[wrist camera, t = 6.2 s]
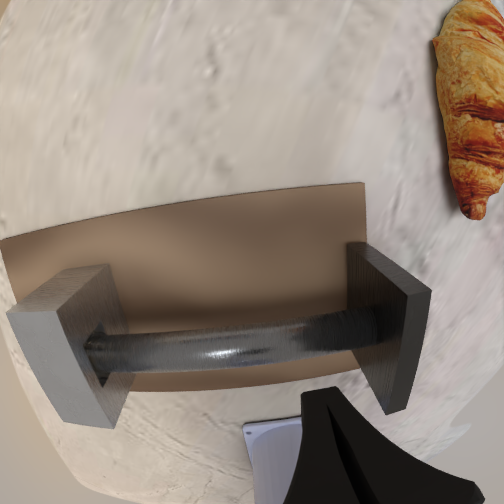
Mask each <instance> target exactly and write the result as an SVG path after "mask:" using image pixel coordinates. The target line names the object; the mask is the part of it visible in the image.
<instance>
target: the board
mask: <svg viewBox="0 0 504 504" xmlns="http://www.w3.org/2000/svg"><path fill="white" fill-rule="evenodd" d="M358 242H366V243H367V235H366V202H365V183H362V182H358V183H344V184H331V185H319V186H308V187H297V188H287V189H278V190H268V191H260V192H251V193H243V194H235V195H228V196H220V197H213V198H206V199H199V200H192V201H186V202H179V203H173V204H167V205H161V206H155V207H149V208H143V209H138V210H132V211H127V212H121V213H116V214H111V215H106V216H101V217H96V218H91V219H86V220H82V221H77V222H72V223H68V224H63V225H59V226H55V227H50V228H46V229H42V230H38V231H34V232H30V233H26V234H22V235H18V236H14V237H10V238H6V239H3V240H0V249H1V253H2V257H3V261H4V264H5V268H6V271H7V274H8V277H9V281H10V284H11V287H12V290H13V293H14V296H15V298H16V301H17V303H18V302H20V301H21V300H22V299H24V298H25V297H26V296H27V295H29V294H30V293H31V292H33V291H34V290H35V289H37V288H38V287H39V286H41V285H42V284H43V283H45V282H46V281H48V280H49V279H50V278H52V277H53V276H54V275H56V274H57V273H59V272H60V271H61V270H63V269H69V268H76V267H83V266H91V265H98V264H106V263H109V264H110V268H111V271H112V275H113V279H114V283H115V286H116V290H117V293H118V297H119V300H120V303H121V306H122V310H123V313H124V316H125V319H126V322H127V325H128V328H129V331H130V334H136V333H154V332H170V331H183V330H195V329H207V328H217V327H227V326H236V325H245V324H253V323H262V322H269V321H277V320H284V319H291V318H298V317H305V316H311V315H318V314H324V313H330V312H336V311H341V310H347V244H350V243H358ZM359 368H360V366H359V364H358V362H357V360H356V359H355V357H354V355H353V353H352V351H346V352H341V353H336V354H331V355H326V356H320V357H314V358H308V359H302V360H296V361H289V362H282V363H275V364H268V365H259V366H251V367H241V368H231V369H220V370H207V371H190V372H167V373H137V374H136V377H135V379H134V381H133V384H132V386H131V388H130V391H136V392H176V391H202V390H218V389H231V388H242V387H252V386H261V385H269V384H277V383H284V382H291V381H297V380H303V379H309V378H315V377H320V376H326V375H331V374H336V373H341V372H346V371H350V370H355V369H359Z"/></svg>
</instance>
